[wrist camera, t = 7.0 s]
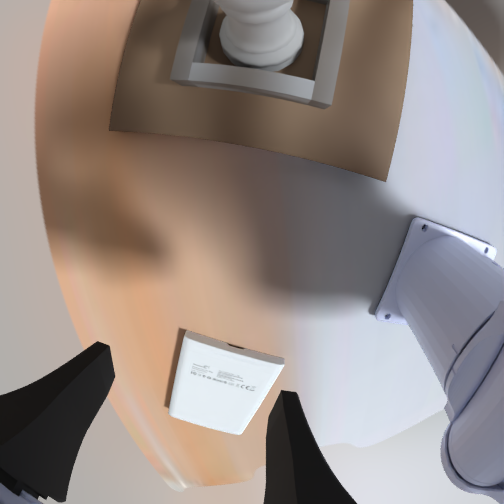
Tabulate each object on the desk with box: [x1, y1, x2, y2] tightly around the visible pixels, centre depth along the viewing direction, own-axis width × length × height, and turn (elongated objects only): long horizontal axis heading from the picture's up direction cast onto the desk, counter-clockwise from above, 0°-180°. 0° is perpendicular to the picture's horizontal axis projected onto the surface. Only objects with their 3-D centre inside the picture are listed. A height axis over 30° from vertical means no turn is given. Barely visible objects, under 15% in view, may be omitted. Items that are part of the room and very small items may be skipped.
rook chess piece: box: [213, 0, 304, 72], centre depth 8 cm, size 4×4×8 cm
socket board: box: [109, 0, 413, 182], centre depth 11 cm, size 17×14×3 cm
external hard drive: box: [168, 330, 285, 435], centre depth 23 cm, size 2×8×12 cm
